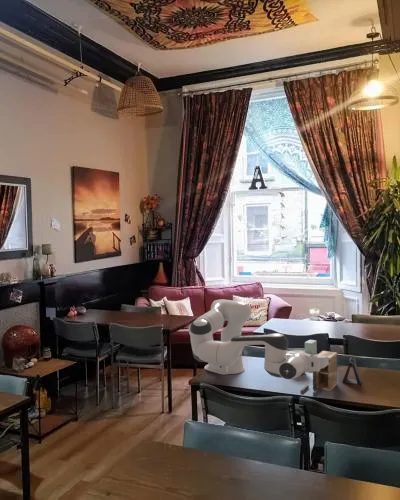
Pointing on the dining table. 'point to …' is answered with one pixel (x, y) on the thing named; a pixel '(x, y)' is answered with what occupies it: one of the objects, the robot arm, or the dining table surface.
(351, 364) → the dark grey triangular stand
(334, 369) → the cabinet
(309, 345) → the pale green block
